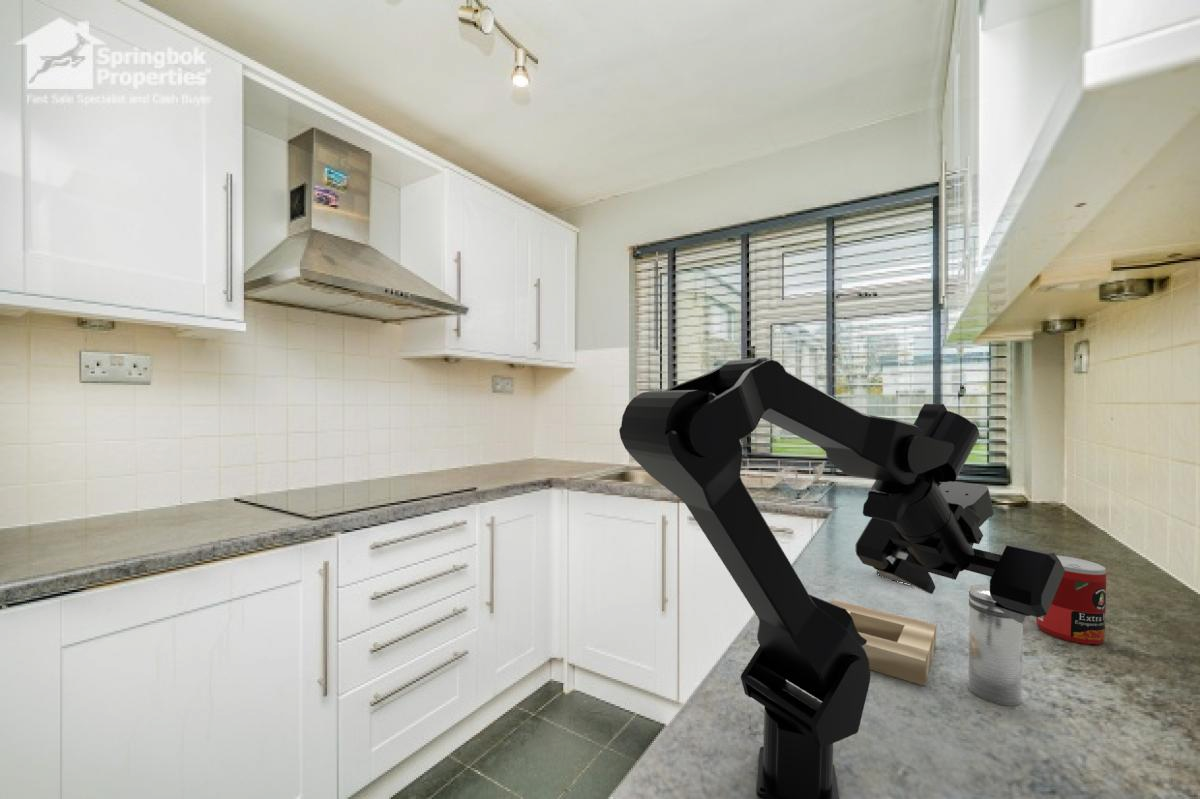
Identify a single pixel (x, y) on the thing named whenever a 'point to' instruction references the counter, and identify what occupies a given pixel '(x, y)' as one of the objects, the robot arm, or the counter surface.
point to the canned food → (1078, 603)
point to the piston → (993, 650)
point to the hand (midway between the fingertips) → (974, 603)
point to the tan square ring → (895, 642)
